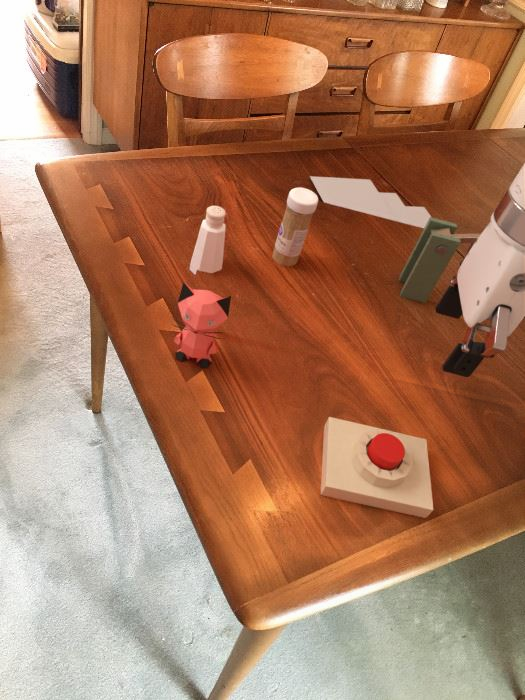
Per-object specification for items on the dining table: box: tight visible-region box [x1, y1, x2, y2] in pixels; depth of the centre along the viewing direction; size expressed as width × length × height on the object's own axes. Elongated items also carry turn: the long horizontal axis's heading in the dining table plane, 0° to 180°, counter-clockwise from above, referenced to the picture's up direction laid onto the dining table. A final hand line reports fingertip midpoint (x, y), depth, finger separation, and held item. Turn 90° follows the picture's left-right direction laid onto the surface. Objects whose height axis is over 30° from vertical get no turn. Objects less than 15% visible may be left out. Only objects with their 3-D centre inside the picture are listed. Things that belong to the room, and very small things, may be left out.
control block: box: [320, 416, 434, 519], centre depth 67 cm, size 13×10×4 cm
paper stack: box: [309, 175, 432, 229], centre depth 109 cm, size 23×25×1 cm
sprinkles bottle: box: [271, 187, 319, 267], centre depth 88 cm, size 5×5×13 cm
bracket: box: [398, 216, 462, 303], centre depth 89 cm, size 12×9×14 cm
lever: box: [430, 228, 482, 244], centre depth 85 cm, size 13×6×2 cm, turn 83°
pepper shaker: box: [189, 205, 227, 276], centre depth 84 cm, size 5×5×11 cm
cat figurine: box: [170, 281, 232, 369], centre depth 71 cm, size 7×7×12 cm
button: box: [368, 433, 405, 470], centre depth 66 cm, size 4×4×2 cm
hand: (450, 341), depth 65 cm, fingers open, 9 cm apart
